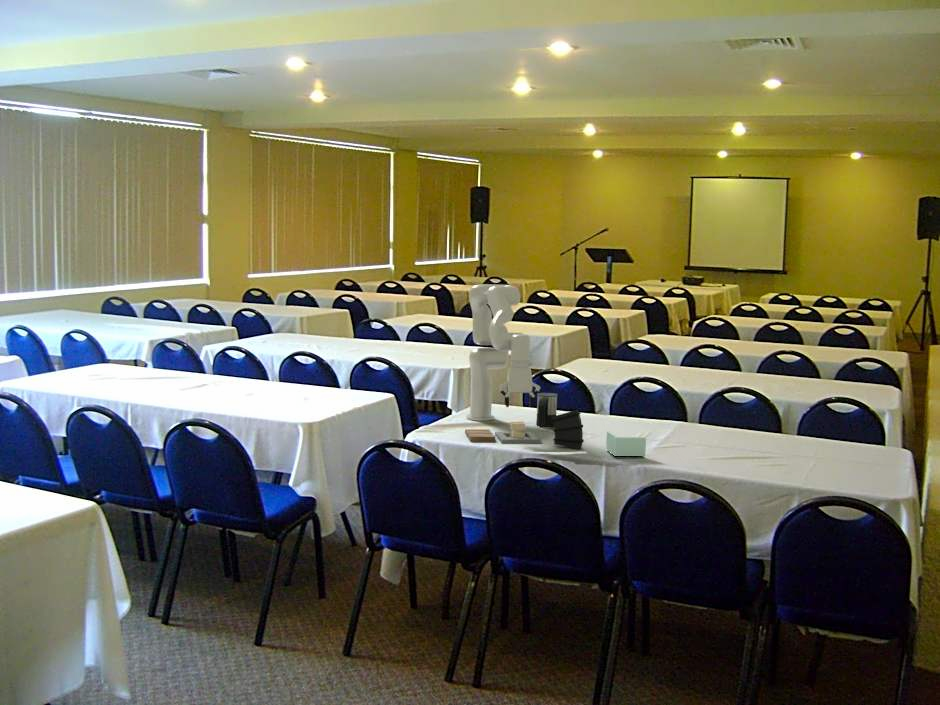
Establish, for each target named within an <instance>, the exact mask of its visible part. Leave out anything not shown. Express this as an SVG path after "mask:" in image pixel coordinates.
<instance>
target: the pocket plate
mask: <svg viewBox="0 0 940 705" xmlns="http://www.w3.org/2000/svg"><path fill="white" fill-rule="evenodd" d="M494 436H495V438H496V437H497V438H496V439H497V440H498V442H500V444H541V443H542V440H541V438H540V437H539V436H538V435H536V434H535V433H534V432H533V431H525V438H510V437H506V436H510V431H494Z"/></svg>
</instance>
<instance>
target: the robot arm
mask: <svg viewBox="0 0 940 705" xmlns="http://www.w3.org/2000/svg"><path fill="white" fill-rule="evenodd" d="M468 301H469V305H470V308H471V312H472V340H473V342H474V344H476V345H478V346H479V345H480V346H488V345H489V346H492V347H478V348H477V347H476V348H474V349H471V351H470V353H469V356H468V358H469V361H468V362H469V365H470V366H469V367H470V399H469V401H470V402H469V403H470V404H469V405H470V406H469V414H467V415H465V416H466V419H467V420H470V421H478V422H479V421H481V422H486V421H488V422H489V421H493V420H495V418H496V417H495V415H493V414H492V403H493V378H492V376H491V374H490V373H489V371H490V370H503V369H505V368H507V367H508V364H509V356H510V367H508V369H507V376H506V381H505V382H504V383H501V384H500V385H498V389H499V392H500V394H501V395H503V397H504V405H505V407H506V408H509V407H510V397H509V396H510V395H511V394H515V393H516V394H529V397H528V407H530V408H533V405H534V402H535V397H536V396H537V394H538V393H540V390H541V386H540V385H538V384H536V383H535V382H533V374H532V369H531V367H530V366H534V363H533V361H530V350H531V349H530V348H531V346H530V345H531V338H530V336H529V335H528V334H524V333H523V332H509V330H508V327H507V326H506V325H505V324H507V323H508V322H511V320H512V319H513V317H514V311H513V307H512V306H517V305H519V304H520V302H521V292H520V290H519V288H518V287H516V286H515V285H509V284H491V283H490V284H487V283H485V284H481V283H480V284H476V285H473V286H472V287H471V288H470V290H469V294H468ZM509 352H510V355H509ZM533 387H534V388H535V390H534V391H533ZM504 388H506V391H504Z"/></svg>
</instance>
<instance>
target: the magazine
mask: <svg viewBox="0 0 940 705" xmlns="http://www.w3.org/2000/svg"><path fill="white" fill-rule="evenodd" d="M551 418H552V420H551V422H553V424H554V427H553V429H554V430H553V433H554V438H552V440H553V441H554V442H553V444H554V445H555V446H556V445H557V446H560V447H566V448H570V449H574V450H575V449H576V450H581V449H582V448H583V443H584V442H585V439H583V433H584V432H583V428H584V424H582V418H581V412H579V409H575V410H573V411H569V412H568V411H567V412H564V413H562V414H558V415H557V414H556V416H554V417H551Z"/></svg>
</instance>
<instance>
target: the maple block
mask: <svg viewBox="0 0 940 705" xmlns="http://www.w3.org/2000/svg"><path fill="white" fill-rule="evenodd" d="M509 429H510V431H509V432H510V437H509V438H526V436H525V432H526V423H525V422H524V421H510V428H509Z"/></svg>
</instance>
